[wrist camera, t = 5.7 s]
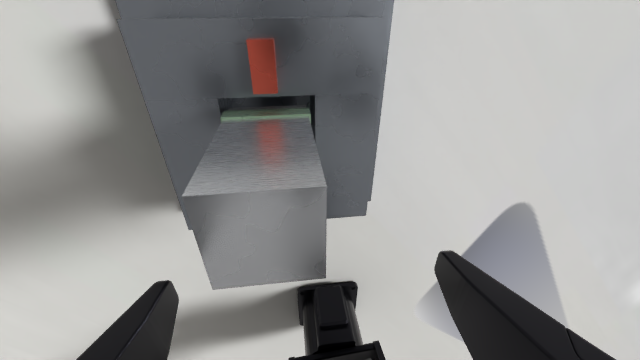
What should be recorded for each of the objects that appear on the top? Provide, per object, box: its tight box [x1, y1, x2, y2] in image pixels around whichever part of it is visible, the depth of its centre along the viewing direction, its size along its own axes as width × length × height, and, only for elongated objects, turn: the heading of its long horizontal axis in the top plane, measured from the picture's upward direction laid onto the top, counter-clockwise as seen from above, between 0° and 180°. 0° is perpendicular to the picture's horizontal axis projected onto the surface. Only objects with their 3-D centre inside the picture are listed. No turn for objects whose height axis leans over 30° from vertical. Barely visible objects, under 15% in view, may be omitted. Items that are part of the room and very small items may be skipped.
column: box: [182, 105, 327, 290], centre depth 12 cm, size 4×4×8 cm
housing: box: [115, 0, 394, 230], centre depth 17 cm, size 15×15×5 cm
